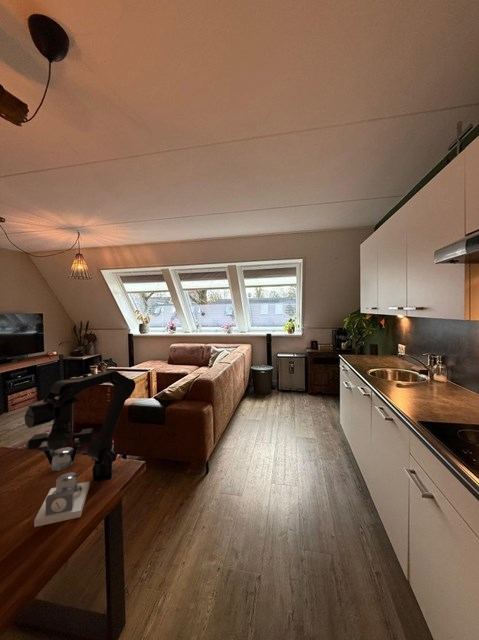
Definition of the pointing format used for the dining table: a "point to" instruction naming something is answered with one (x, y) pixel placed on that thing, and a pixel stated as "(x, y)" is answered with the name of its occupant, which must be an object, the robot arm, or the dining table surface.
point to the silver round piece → (66, 483)
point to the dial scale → (62, 505)
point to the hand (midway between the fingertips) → (62, 462)
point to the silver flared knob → (62, 458)
